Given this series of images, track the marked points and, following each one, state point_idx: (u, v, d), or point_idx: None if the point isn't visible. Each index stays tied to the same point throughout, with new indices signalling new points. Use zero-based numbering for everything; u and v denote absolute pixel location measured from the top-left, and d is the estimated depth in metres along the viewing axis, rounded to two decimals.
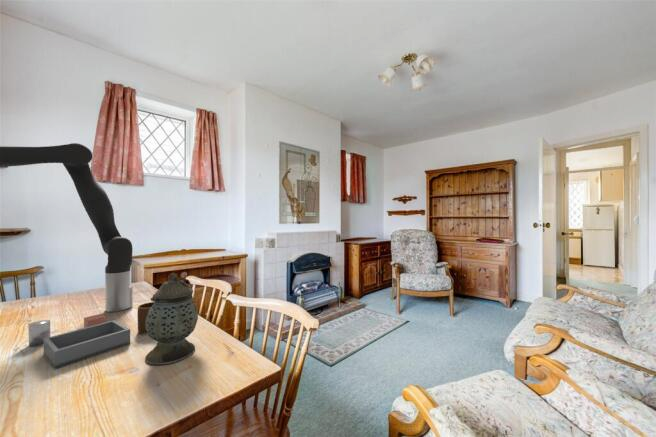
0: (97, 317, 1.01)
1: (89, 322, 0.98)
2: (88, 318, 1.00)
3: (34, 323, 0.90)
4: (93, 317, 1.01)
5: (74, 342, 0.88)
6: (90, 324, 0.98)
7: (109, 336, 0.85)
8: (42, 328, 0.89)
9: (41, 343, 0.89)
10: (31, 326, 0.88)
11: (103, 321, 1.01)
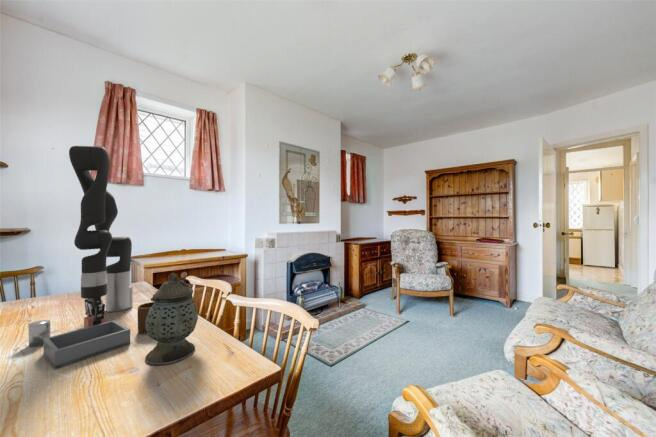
0: None
1: (89, 322, 0.98)
2: (88, 318, 1.00)
3: (34, 323, 0.90)
4: None
5: (74, 342, 0.88)
6: (90, 324, 0.98)
7: (109, 336, 0.85)
8: (42, 328, 0.89)
9: (41, 343, 0.89)
10: (31, 326, 0.88)
11: (103, 321, 1.01)
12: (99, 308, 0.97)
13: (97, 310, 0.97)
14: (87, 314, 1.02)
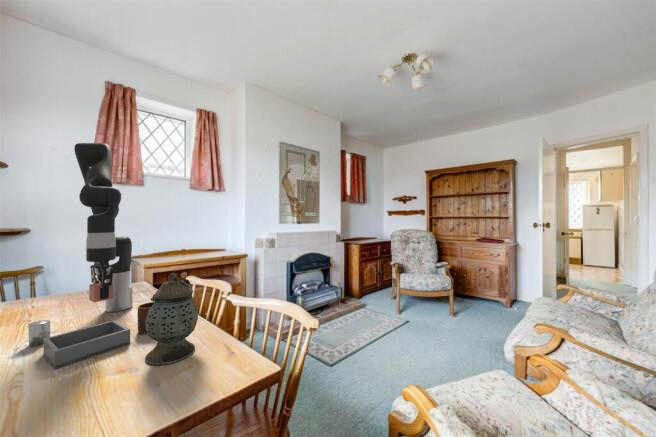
0: None
1: (95, 288, 0.86)
2: (94, 285, 0.88)
3: (34, 323, 0.90)
4: None
5: (74, 342, 0.88)
6: (96, 291, 0.86)
7: (109, 336, 0.85)
8: (42, 328, 0.89)
9: (41, 343, 0.89)
10: (31, 326, 0.88)
11: (111, 289, 0.90)
12: (107, 273, 0.85)
13: (104, 274, 0.85)
14: (93, 281, 0.91)
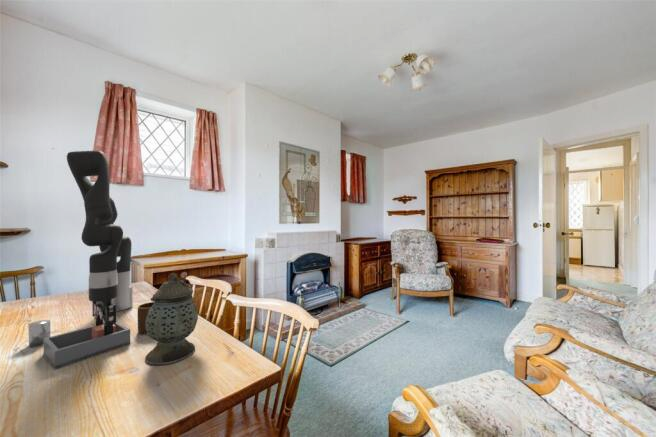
0: None
1: (98, 332, 0.87)
2: (96, 328, 0.88)
3: (34, 323, 0.90)
4: (102, 326, 0.89)
5: (74, 342, 0.88)
6: (99, 335, 0.87)
7: (109, 336, 0.85)
8: (42, 328, 0.89)
9: (41, 343, 0.89)
10: (31, 326, 0.88)
11: (113, 331, 0.90)
12: (110, 310, 0.86)
13: (108, 312, 0.85)
14: (94, 316, 0.91)
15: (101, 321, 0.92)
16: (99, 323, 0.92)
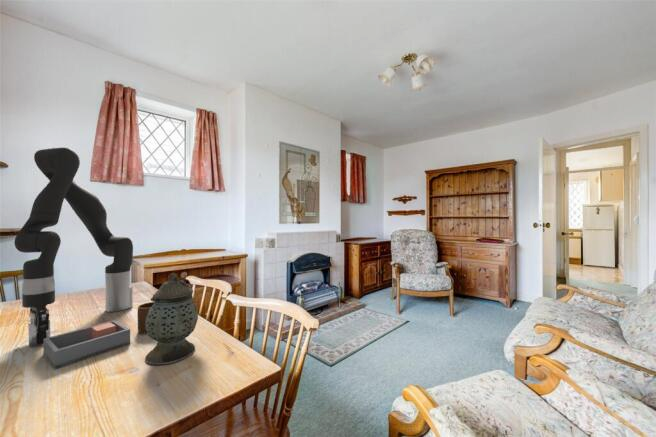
0: (106, 326, 0.90)
1: (98, 332, 0.87)
2: (96, 328, 0.88)
3: None
4: (102, 326, 0.89)
5: (74, 342, 0.88)
6: (99, 335, 0.87)
7: (109, 336, 0.85)
8: None
9: (41, 343, 0.89)
10: (31, 326, 0.88)
11: (113, 331, 0.90)
12: (42, 319, 0.87)
13: (39, 321, 0.86)
14: None
15: None
16: None
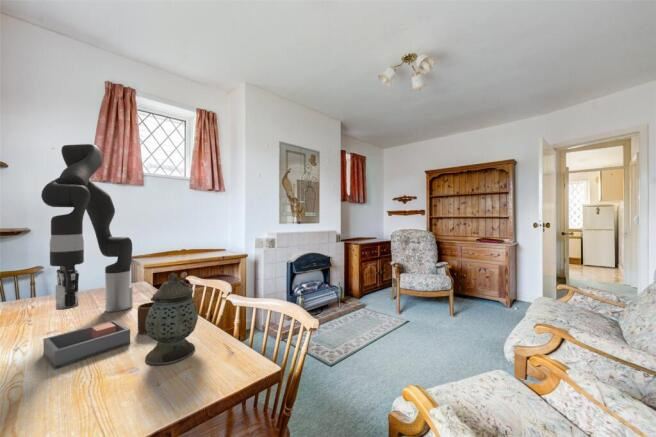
0: (106, 326, 0.90)
1: (98, 332, 0.87)
2: (96, 328, 0.88)
3: None
4: (102, 326, 0.89)
5: (74, 342, 0.88)
6: (99, 335, 0.87)
7: (109, 336, 0.85)
8: None
9: (69, 306, 0.81)
10: (59, 287, 0.80)
11: (113, 331, 0.90)
12: (71, 278, 0.79)
13: (69, 280, 0.78)
14: None
15: None
16: None
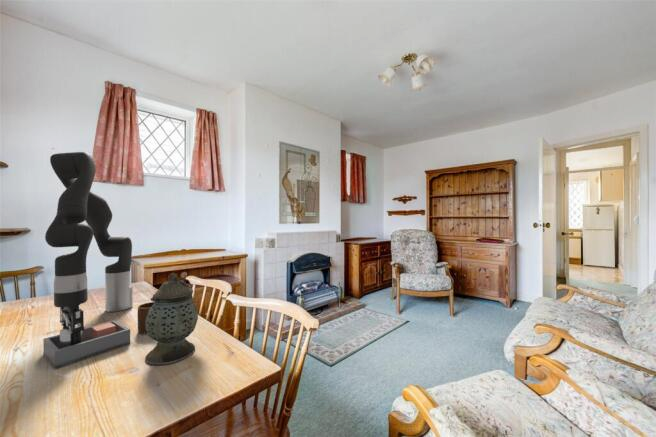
0: (106, 326, 0.90)
1: (98, 332, 0.87)
2: (96, 328, 0.88)
3: (65, 329, 0.83)
4: (102, 326, 0.89)
5: None
6: (99, 335, 0.87)
7: (109, 336, 0.85)
8: None
9: None
10: (63, 333, 0.81)
11: (113, 331, 0.90)
12: (76, 316, 0.79)
13: (74, 318, 0.78)
14: (62, 322, 0.85)
15: None
16: None
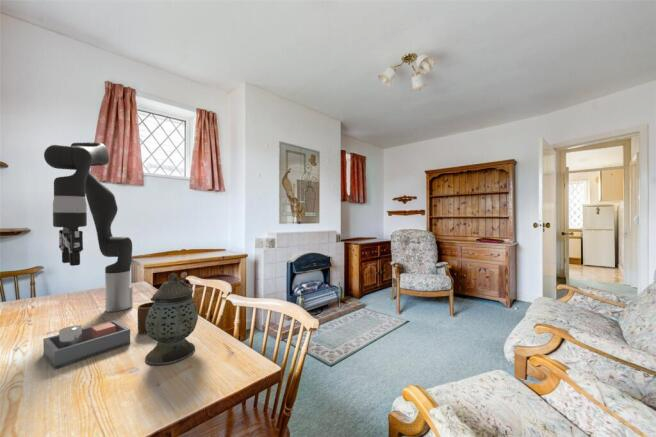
0: (106, 326, 0.90)
1: (98, 332, 0.87)
2: (96, 328, 0.88)
3: (65, 329, 0.82)
4: (102, 326, 0.89)
5: None
6: (99, 335, 0.87)
7: (109, 336, 0.85)
8: (74, 334, 0.82)
9: None
10: (62, 333, 0.81)
11: (113, 331, 0.90)
12: (75, 235, 0.79)
13: (73, 237, 0.78)
14: (61, 247, 0.85)
15: (68, 253, 0.85)
16: (66, 255, 0.85)
